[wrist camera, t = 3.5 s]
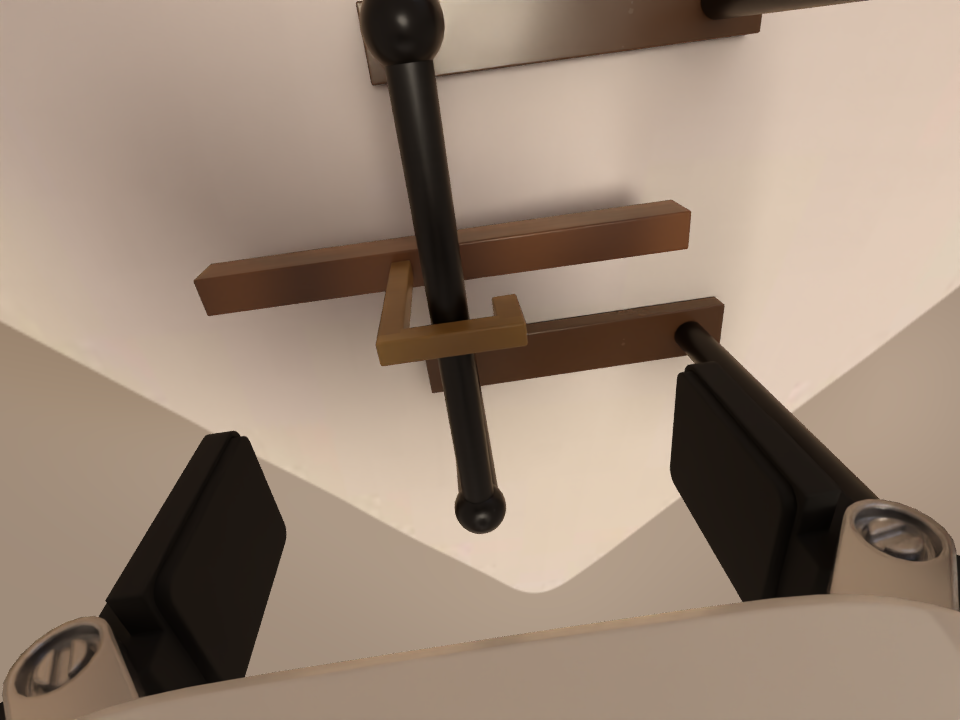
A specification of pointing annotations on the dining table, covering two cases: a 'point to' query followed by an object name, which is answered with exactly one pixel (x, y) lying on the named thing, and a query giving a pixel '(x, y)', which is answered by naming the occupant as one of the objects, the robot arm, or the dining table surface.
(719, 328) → the rack
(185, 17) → the dining table surface
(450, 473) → the dining table surface
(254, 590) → the robot arm
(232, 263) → the hanger
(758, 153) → the dining table surface
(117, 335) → the dining table surface
